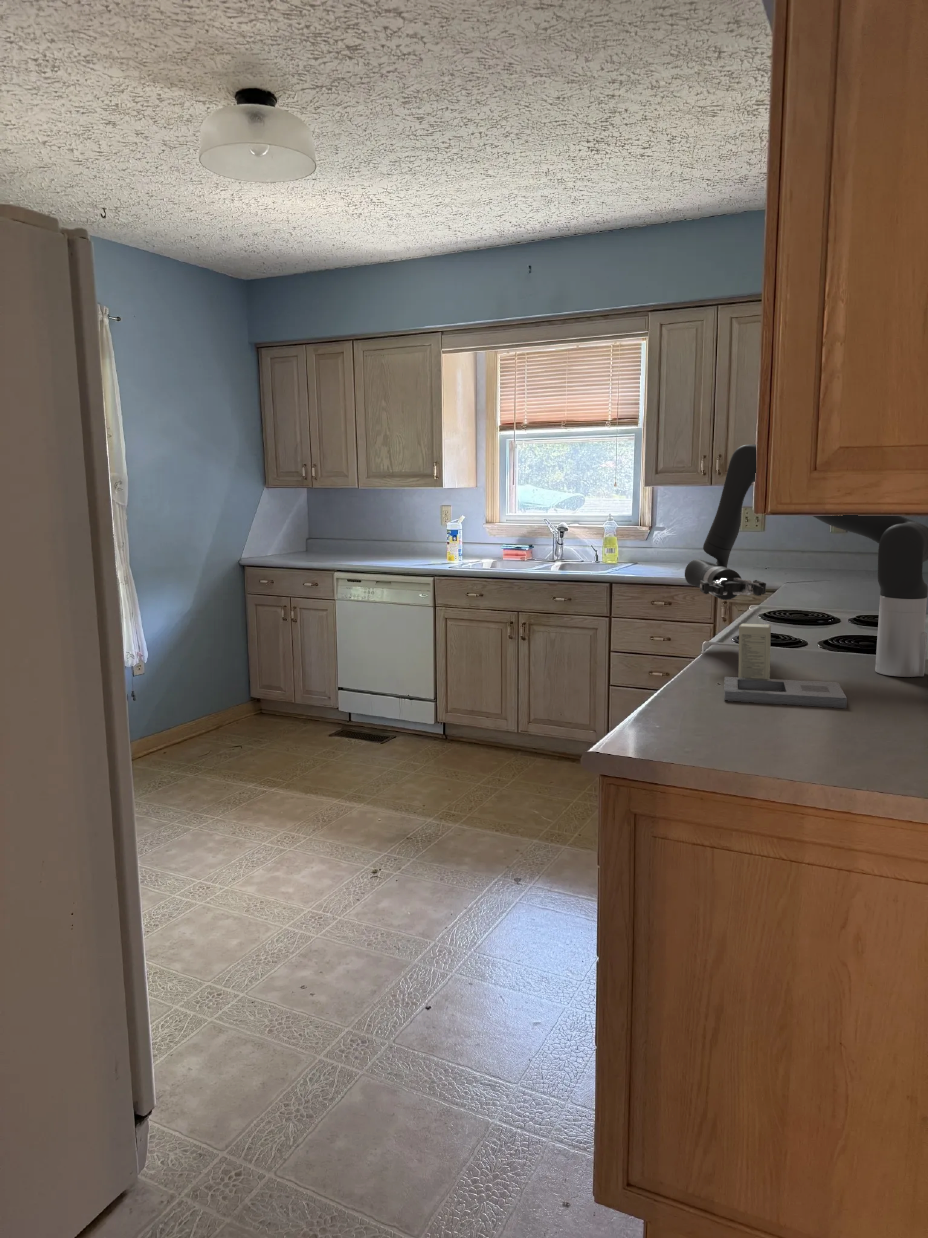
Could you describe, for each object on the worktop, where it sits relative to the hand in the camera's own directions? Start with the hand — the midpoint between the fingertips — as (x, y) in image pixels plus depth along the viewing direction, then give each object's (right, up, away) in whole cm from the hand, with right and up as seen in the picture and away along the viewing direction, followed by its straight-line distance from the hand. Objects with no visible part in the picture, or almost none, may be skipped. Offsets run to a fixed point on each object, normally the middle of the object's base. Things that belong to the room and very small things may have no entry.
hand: (741, 591), depth 190 cm
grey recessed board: (+1, -22, -23) cm, 31 cm away
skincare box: (0, -20, -8) cm, 21 cm away
